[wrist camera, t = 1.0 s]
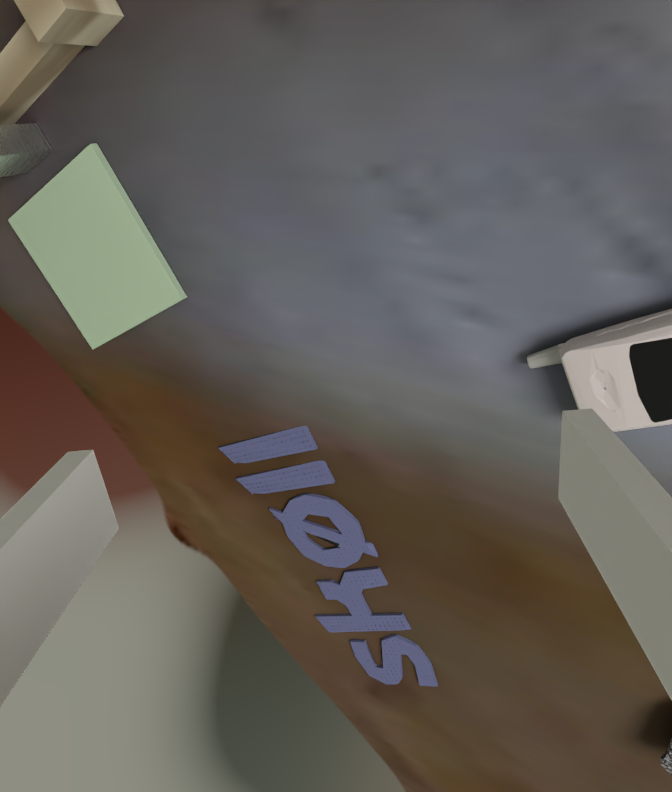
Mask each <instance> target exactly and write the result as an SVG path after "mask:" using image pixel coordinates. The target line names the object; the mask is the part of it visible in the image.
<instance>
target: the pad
mask: <svg viewBox="0 0 672 792" xmlns="http://www.w3.org/2000/svg"><path fill="white" fill-rule="evenodd" d="M8 221H9V223H10V224H11V226H12V228H13V229H14V231H15V232H16V234H17V235H18V237H19V238H20V240H21V241H22V243H23V244H24V246H25V247H26V249H27V250H28V252H29V253H30V255H31V256H32V258H33V260H34V261H35V263H36V264H37V266H38V267H39V269H40V270H41V272H42V273H43V275H44V276H45V278H46V279H47V281H48V282H49V284H50V285H51V287H52V289H53V290H54V292H55V293H56V295H57V296H58V298H59V299H60V301H61V302H62V304H63V305H64V307H65V308H66V310H67V311H68V313H69V314H70V316H71V317H72V319H73V321H74V322H75V324H76V325H77V327H78V328H79V330H80V331H81V333H82V334H83V336H84V337H85V339H86V340H87V342H88V343H89V345H90V346H91V348H92V350H93V349H95V348H97V347H99V346H100V345H102V344H104V343H106V342H108V341H109V340H111V339H113V338H115V337H117V336H118V335H120V334H122V333H124V332H126V331H127V330H129V329H131V328H133V327H135V326H136V325H138V324H140V323H142V322H144V321H145V320H147V319H149V318H151V317H153V316H154V315H156V314H158V313H160V312H162V311H163V310H165V309H167V308H169V307H170V306H172V305H174V304H176V303H178V302H179V301H181V300H183V299H185V298H187V296H186V294H185V292H184V291H183V289H182V287H181V286H180V284H179V282H178V280H177V279H176V277H175V275H174V274H173V272H172V270H171V269H170V267H169V265H168V264H167V262H166V260H165V258H164V257H163V255H162V253H161V252H160V250H159V248H158V247H157V245H156V243H155V241H154V240H153V238H152V236H151V235H150V233H149V231H148V230H147V228H146V226H145V224H144V223H143V221H142V219H141V218H140V216H139V214H138V213H137V211H136V209H135V207H134V206H133V204H132V202H131V201H130V199H129V197H128V196H127V194H126V192H125V190H124V189H123V187H122V185H121V184H120V182H119V180H118V179H117V177H116V175H115V173H114V172H113V170H112V168H111V167H110V165H109V163H108V162H107V160H106V158H105V156H104V155H103V153H102V151H101V150H100V148H99V146H98V145H97V143H94V144H90V145H89V146H87V147H86V148H85V149H84V150H83V151H82V152H81V153H80V154H79V155H78V156H77V157H76V158H74V159H73V160H72V161H71V162H70V163H69V164H68V165H67V166H66V167H65V168H64V169H63V170H61V171H60V172H59V173H58V174H57V175H56V176H55V177H54V178H53V179H52V180H51V181H50V182H48V183H47V184H46V185H45V186H44V187H43V188H42V189H41V190H40V191H39V192H38V193H37V194H35V195H34V196H33V197H32V198H31V199H30V200H29V201H28V202H27V203H26V204H25V205H24V206H22V207H21V208H20V209H19V210H18V211H17V212H16V213H15V214H14V215H13V216H12V217H11V218H9V219H8Z"/></svg>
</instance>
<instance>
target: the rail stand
mask: <svg viewBox="0 0 672 792" xmlns="http://www.w3.org/2000/svg"><path fill="white" fill-rule="evenodd" d="M14 1H15V3H16V5H17V6H18V8H19V10H20V11H21V13H22V15H23V16H24V18H25V20H26V21H25V22H24V24H23V25H22V26H21V28H20V29H19V30H18V31H17V33H16V34H15V35H14V37H13V38H12V39H11V40H10V42H9V43H8V44H7V46H6V47H5V48H4V49H3V51H2V52H1V53H0V125H12V124H15V123H16V122H17V121H18V120H19V118H20V117H21V116H22V115H23V114H24V113H25V112H26V111H27V110H28V109H29V107H30V106H31V105H32V104H33V103H34V102H35V101H36V100H37V99H38V97H39V96H40V95H41V94H42V93H43V92H44V91H45V90H46V89H47V88H48V86H49V85H50V84H51V83H52V82H53V81H54V80H55V79H56V78H57V76H58V75H59V74H60V73H61V72H62V71H63V70H64V69H65V68H66V66H67V65H68V64H69V63H70V62H71V61H72V60H73V59H74V58H75V57H76V55H77V54H78V53H79V52H80V51H81V50H82V49H83V48H84V47H85V45H88V46H97V45H98V44H99V43H100V42H101V41H102V40H103V39H104V38H105V36H106V35H107V34H108V33H109V32H110V31H111V30H112V29H113V28H114V27H115V26H116V25H117V24H118V22H119V21H120V20H121V19H122V18H123V17H124V15H123V13H122V11H121V9H120V7H119V5H118V4H117V2H116V0H14Z"/></svg>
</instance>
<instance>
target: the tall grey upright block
mask: <svg viewBox="0 0 672 792" xmlns="http://www.w3.org/2000/svg"><path fill="white" fill-rule="evenodd" d="M52 150H53V149H52V147H51V146H50V144H49V143H48V141H47V139H46V138H45V136H44V134H43V133H42V131H41V130H40V128H39V126H38V125H37V123H26V124H12V125H0V177H5V176H11V175H18V174H24V173H29V172H30V171H31V170H32V169H33V168H34V167H35V166H36V165H37V164H38V163H40V162H41V161H42V160H43V159H44V158H45V157H46V156H47V155H48V154H49V153H50V152H51V151H52Z"/></svg>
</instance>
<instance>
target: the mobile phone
mask: <svg viewBox="0 0 672 792" xmlns="http://www.w3.org/2000/svg"><path fill="white" fill-rule="evenodd" d="M527 361H528V364H529V367H530V368H531V369H532V368H537V367H543V366H548V365H554V364H560V363H562V365H563V368H564V370H565V373H566V376H567V379H568V382H569V385H570V388H571V391H572V393H573V396H574V399H575V402H576V405H577V408H578V410H579V409H591V408H592V409H593V410H594V411H595V412H596V413H597V414H598V416H599V417H600V418H601V419H602V420H603V421H604V422H605V423H606V424H607V426H608V427H609V428H610V429H611V430H612V431H613V432H614V431H623V430H631V429H638V428H646V427H653V426H661V425H668V424H672V309H668V310H665V311H661V312H658V313H654V314H651V315H647V316H643V317H640V318H636V319H633V320H629V321H626V322H623V323H619V324H616V325H613V326H610V327H607V328H603V329H600V330H597V331H594V332H590V333H587V334H584V335H581V336H578V337H574V338H571V339H570V340H568V341H567V342H566V343H562V344H559V345H556V346H553V347H551V348H548V349H545V350H542V351H539V352H536V353H533V354H530V355H528V356H527Z"/></svg>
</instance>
